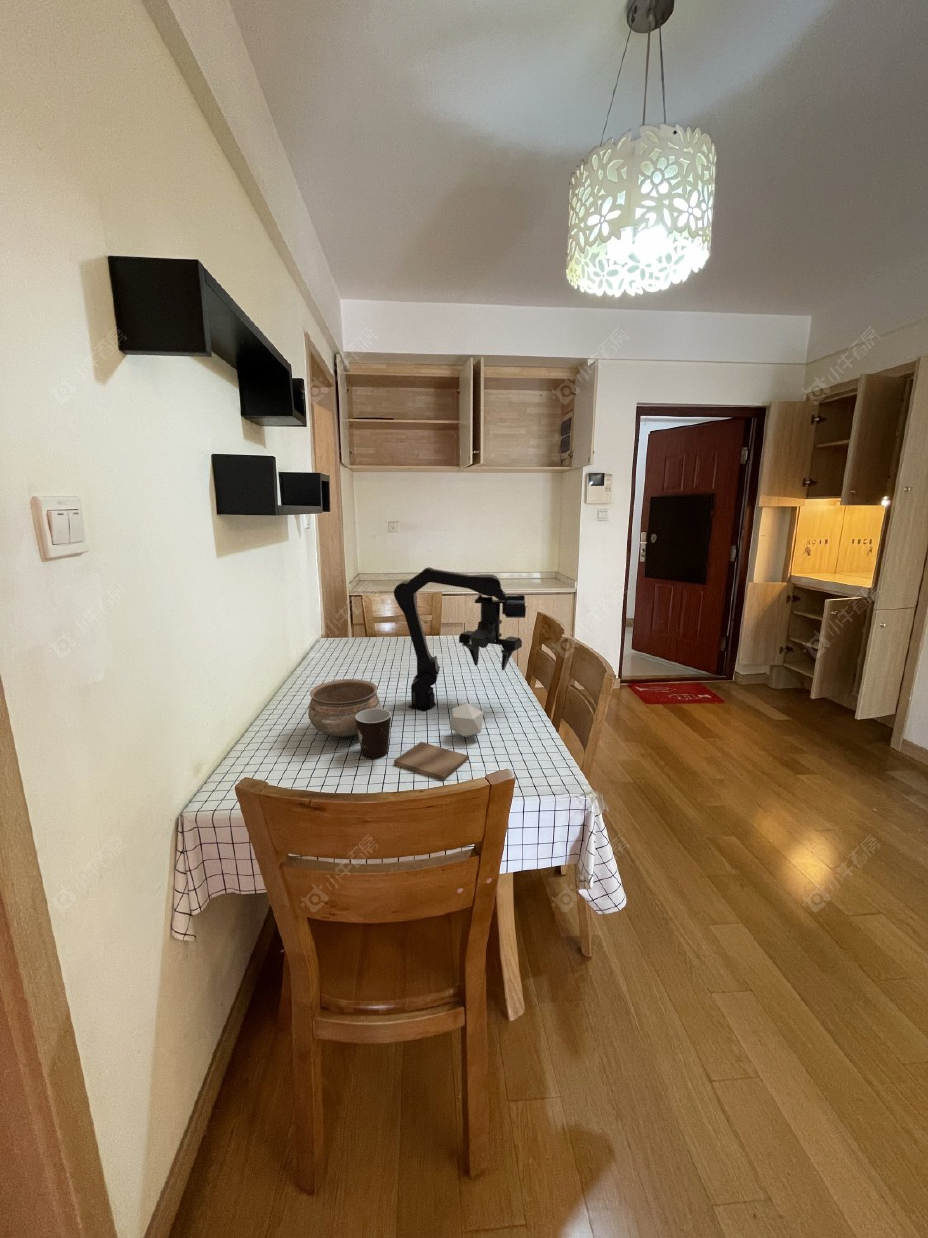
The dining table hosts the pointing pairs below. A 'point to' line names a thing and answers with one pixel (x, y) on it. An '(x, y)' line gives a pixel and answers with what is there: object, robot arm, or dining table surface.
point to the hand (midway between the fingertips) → (489, 667)
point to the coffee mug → (373, 732)
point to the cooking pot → (341, 705)
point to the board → (431, 761)
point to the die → (466, 720)
